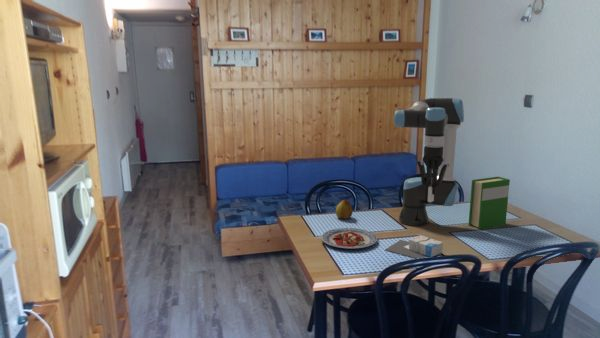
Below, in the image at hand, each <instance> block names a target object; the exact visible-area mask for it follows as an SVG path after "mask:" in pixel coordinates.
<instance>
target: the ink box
mask: <svg viewBox="0 0 600 338" xmlns="http://www.w3.org/2000/svg"><path fill="white" fill-rule="evenodd" d="M408 239H409V238H408ZM408 242H409V245H407V246H404V247H405V248H407V249H409V250H412V251H415V252H417V253H420V254H423V255H426V256H429V257H431V258H434V257H435V256H438V255H440V254H443V250H444V249H443V248H444V247H443V246H444V242H443V241H439V240H437V239H433V238H430V237H427V236H425V235H421V234H420V235H417V236H414V237H411V238H410V239H409V240H408Z"/></svg>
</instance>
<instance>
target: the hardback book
mask: <svg viewBox="0 0 600 338" xmlns="http://www.w3.org/2000/svg"><path fill="white" fill-rule="evenodd" d="M510 183H511V182H510V179H509V178H505V177H502V176H501V177H500V176H493V177H483V178H477V179H476V178H475V179H471V190H470V201H469V215H468V226H469V227H472V226H474V227H477V228H478V229H477V230H479V231H481V230H486V229H490V228H495V227H502V226H506V223H507V222H506V221H507V214H508V213H507V212H508V202H509V201H508V200H509V193H510Z"/></svg>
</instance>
